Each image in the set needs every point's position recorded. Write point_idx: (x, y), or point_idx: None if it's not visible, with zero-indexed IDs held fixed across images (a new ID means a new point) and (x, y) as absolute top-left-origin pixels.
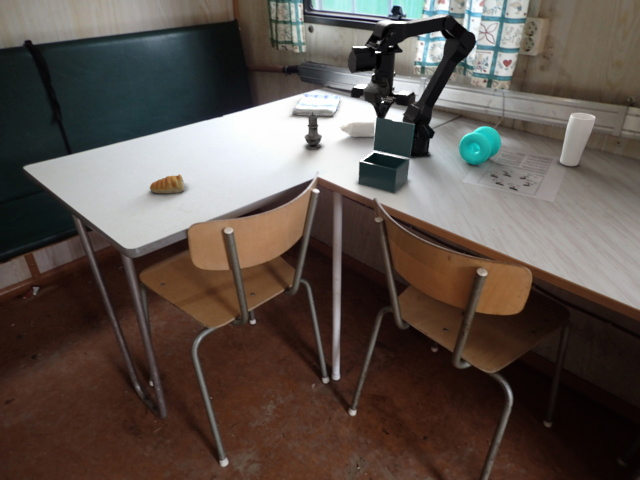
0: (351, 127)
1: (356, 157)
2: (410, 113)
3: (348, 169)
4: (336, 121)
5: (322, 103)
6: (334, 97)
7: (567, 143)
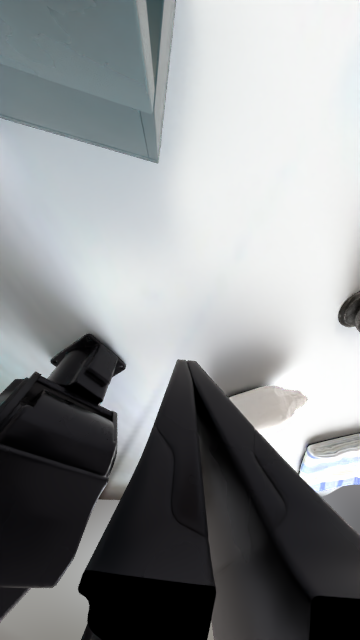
0: (280, 403)
1: (237, 281)
2: (43, 500)
3: (250, 165)
4: (299, 431)
5: (327, 470)
6: None
7: None
